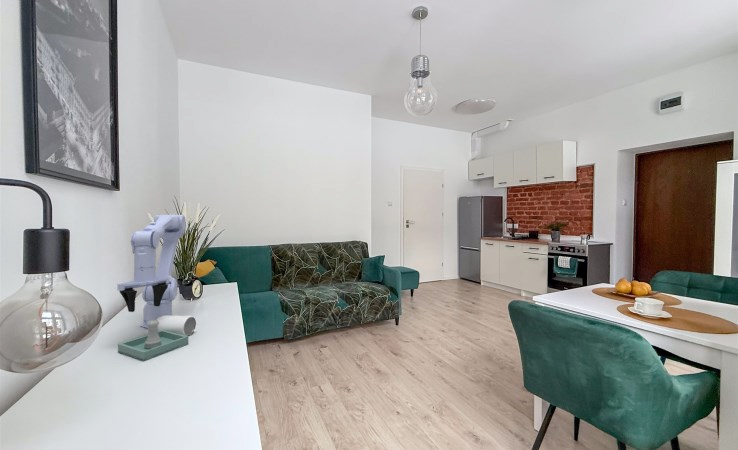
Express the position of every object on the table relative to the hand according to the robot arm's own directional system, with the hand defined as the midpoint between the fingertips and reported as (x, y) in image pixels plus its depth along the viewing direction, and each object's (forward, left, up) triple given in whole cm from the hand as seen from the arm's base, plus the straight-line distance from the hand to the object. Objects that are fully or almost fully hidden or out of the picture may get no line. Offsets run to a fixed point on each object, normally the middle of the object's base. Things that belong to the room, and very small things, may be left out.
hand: (144, 308), depth 99 cm
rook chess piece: (+9, -3, -10) cm, 14 cm away
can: (+9, +9, -7) cm, 15 cm away
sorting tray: (+9, -2, -10) cm, 14 cm away
